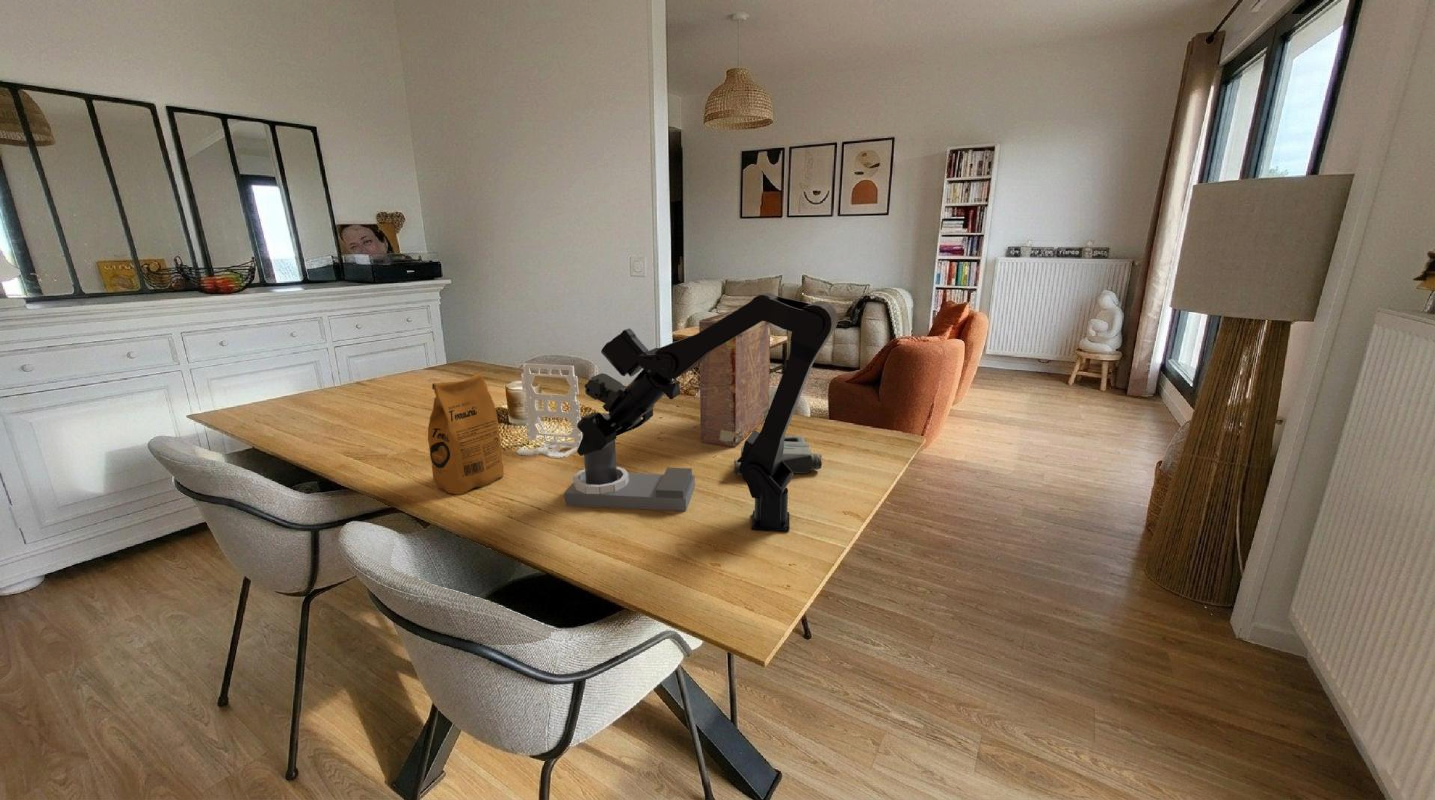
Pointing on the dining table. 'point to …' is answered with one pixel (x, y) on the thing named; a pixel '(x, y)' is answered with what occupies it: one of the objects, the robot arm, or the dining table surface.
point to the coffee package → (464, 436)
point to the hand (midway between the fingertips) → (592, 445)
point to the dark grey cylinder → (601, 464)
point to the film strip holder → (559, 413)
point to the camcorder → (795, 456)
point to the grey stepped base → (635, 490)
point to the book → (734, 384)
